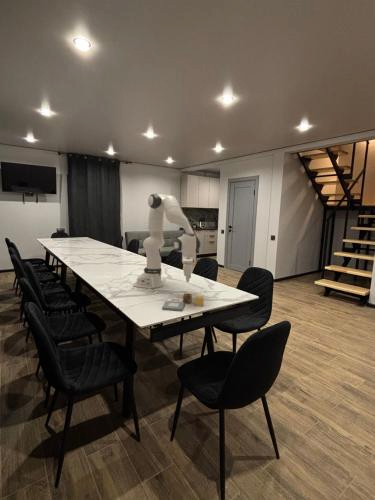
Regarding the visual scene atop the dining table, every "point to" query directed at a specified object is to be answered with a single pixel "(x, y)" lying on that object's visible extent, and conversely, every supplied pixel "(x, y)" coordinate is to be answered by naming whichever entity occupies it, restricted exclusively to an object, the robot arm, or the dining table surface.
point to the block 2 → (199, 300)
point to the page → (175, 300)
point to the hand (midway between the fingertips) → (188, 279)
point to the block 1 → (187, 298)
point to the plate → (173, 305)
